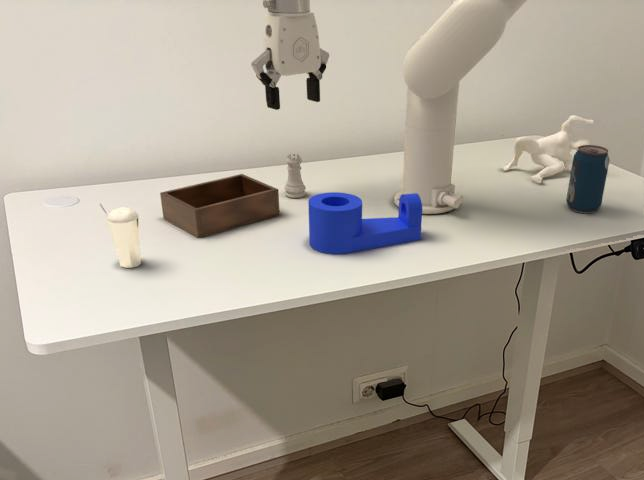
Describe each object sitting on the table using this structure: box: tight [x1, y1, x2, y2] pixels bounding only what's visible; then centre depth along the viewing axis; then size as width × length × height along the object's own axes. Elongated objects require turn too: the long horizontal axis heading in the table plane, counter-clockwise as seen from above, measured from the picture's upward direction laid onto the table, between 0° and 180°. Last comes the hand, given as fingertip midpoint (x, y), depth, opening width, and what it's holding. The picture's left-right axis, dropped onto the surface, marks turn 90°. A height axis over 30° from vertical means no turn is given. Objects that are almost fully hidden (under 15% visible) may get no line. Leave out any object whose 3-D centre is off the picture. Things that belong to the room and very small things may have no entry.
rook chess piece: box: [283, 153, 307, 199], centre depth 146 cm, size 4×4×8 cm
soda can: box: [565, 144, 610, 214], centre depth 145 cm, size 7×7×12 cm
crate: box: [159, 173, 281, 239], centre depth 135 cm, size 18×12×5 cm, turn 135°
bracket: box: [307, 191, 423, 255], centre depth 127 cm, size 20×9×8 cm, turn 111°
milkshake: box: [99, 203, 142, 269], centre depth 114 cm, size 4×5×10 cm
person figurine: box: [502, 115, 595, 184], centre depth 165 cm, size 13×13×18 cm
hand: (294, 104), depth 139 cm, fingers open, 9 cm apart
